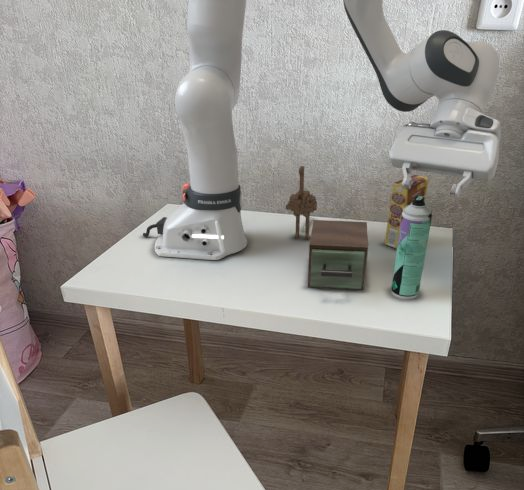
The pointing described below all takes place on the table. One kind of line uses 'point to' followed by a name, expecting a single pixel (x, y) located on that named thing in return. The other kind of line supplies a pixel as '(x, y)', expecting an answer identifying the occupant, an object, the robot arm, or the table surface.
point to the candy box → (402, 206)
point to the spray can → (411, 249)
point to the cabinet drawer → (337, 268)
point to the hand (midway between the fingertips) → (429, 191)
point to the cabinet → (338, 240)
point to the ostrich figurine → (302, 205)
